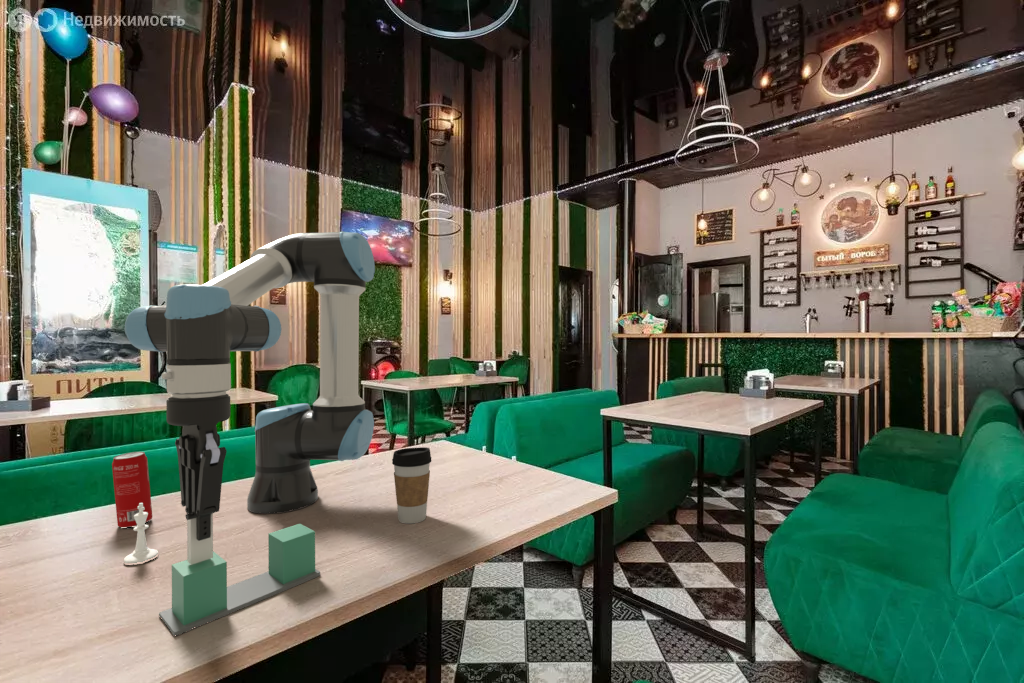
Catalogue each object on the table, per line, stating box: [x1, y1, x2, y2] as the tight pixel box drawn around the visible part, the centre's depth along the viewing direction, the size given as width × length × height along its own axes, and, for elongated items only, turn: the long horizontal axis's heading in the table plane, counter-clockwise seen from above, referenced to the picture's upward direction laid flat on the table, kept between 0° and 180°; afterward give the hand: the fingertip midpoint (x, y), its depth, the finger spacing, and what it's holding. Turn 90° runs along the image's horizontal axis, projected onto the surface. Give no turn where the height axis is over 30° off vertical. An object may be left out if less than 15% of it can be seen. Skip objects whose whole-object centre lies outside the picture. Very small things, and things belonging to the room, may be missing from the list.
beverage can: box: [111, 451, 153, 528], centre depth 97 cm, size 6×6×15 cm
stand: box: [158, 523, 321, 637], centre depth 70 cm, size 7×20×7 cm, turn 141°
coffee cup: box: [391, 446, 432, 525], centre depth 99 cm, size 8×8×15 cm
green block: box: [171, 550, 228, 625], centre depth 65 cm, size 5×5×7 cm
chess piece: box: [123, 503, 159, 563], centre depth 81 cm, size 5×5×10 cm
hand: (200, 559), depth 65 cm, fingers closed
